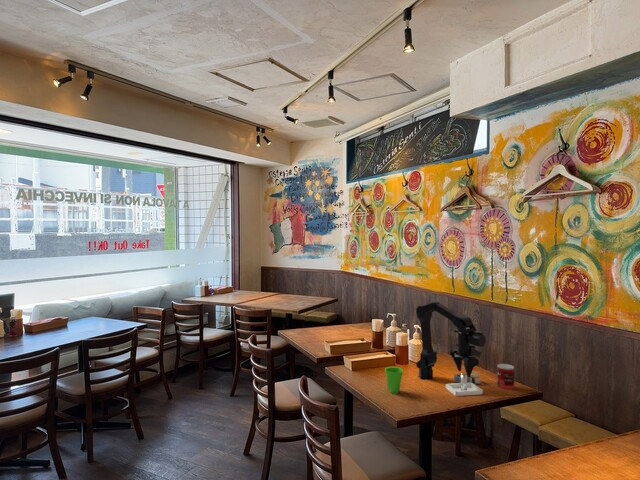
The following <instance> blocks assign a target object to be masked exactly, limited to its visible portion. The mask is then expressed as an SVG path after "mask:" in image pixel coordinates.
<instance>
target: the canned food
mask: <svg viewBox="0 0 640 480" xmlns="http://www.w3.org/2000/svg"><path fill="white" fill-rule="evenodd" d="M496 368H497V370H496V371H497V374H496V376H497V377H496V378H497V387H499V388H501V389H504V390H512V391H513V390H514V389H515V366H514V365H512V364H508V363H499V364H497V367H496Z"/></svg>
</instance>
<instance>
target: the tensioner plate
mask: <svg viewBox="0 0 640 480" xmlns="http://www.w3.org/2000/svg"><path fill="white" fill-rule="evenodd" d="M453 377H454V378H453V379H452V381H453V382H454V383H461V373H457V374H456V373H454V374H453ZM479 378H480V373H478V372H474V371H472V373H471V376H470V377H467V383H470V382H472V383H473V384H475V385H476V386H484V385H485V384H484V383H482V382H481V381H479Z"/></svg>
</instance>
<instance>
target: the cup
mask: <svg viewBox="0 0 640 480" xmlns="http://www.w3.org/2000/svg"><path fill="white" fill-rule="evenodd" d="M384 371H385V375H386V382H387V387H388V392H389V393H390V394H395V395H396V394H399V393H400V391H401V390H400V389H401V385H402V384H401V383H402V377H403V372H404V369H403V368H401V367H397V366H388V367H385V369H384Z"/></svg>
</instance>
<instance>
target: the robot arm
mask: <svg viewBox="0 0 640 480" xmlns="http://www.w3.org/2000/svg"><path fill="white" fill-rule="evenodd" d="M415 312H416V318H417V319H418V321H419V324H420V334H421V344H422V349H421V352H420V357H419V360H418V361H417V362H416V363H415V365H416V368H417V369H418V376H417V377H418V378H419V379H420V380H422V381H427V380H429V381H430V380H434V370H433V367H435V364H436V363H437V360H438V357H437V355H438V354H437V351H435V350H434V349H433V346H432V345H433V343H432V333H431V332H432V331H431V319H432V317H433V313H434V312H436V313H438V314H440V315H441V316H443V317H444V318H446V319H448V320H449V321H451V322H452V324H453V326H454V327H455V328H456V329H454V330H453V333H455V334H457V343H455V345H456V347H457V348H452V349H450V351H449V355H450V356H451V358H452V360H453V362H454V364H455V366H456V369H457V371H458V372H461V371H462V366H463V367H464V371H465V373H466V374H467V377H470V376H471V373H472V372H473V371H474V368H475V367H477V366H478V365H480V360H479V359H480V358H481V356H482V353H483V351H482V350H479V349H477V348H476V346H477V347H481V348H483V347H485V345H486V343H487V338H486V336H485V335H484V332H483V331H478V330H477V328H476V327H475V325H474V323H473V322H472V318H471V317H469V316H467V315H464V314H460V313H457V312H455V311H454V310H452V309H451V308H448V307H447V306H445V305H443V304H442V303H441V302H440V301H432V302H431V303H428V304H423V305H418V306H417V307H416V308H415ZM478 358H479V359H478Z"/></svg>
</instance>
